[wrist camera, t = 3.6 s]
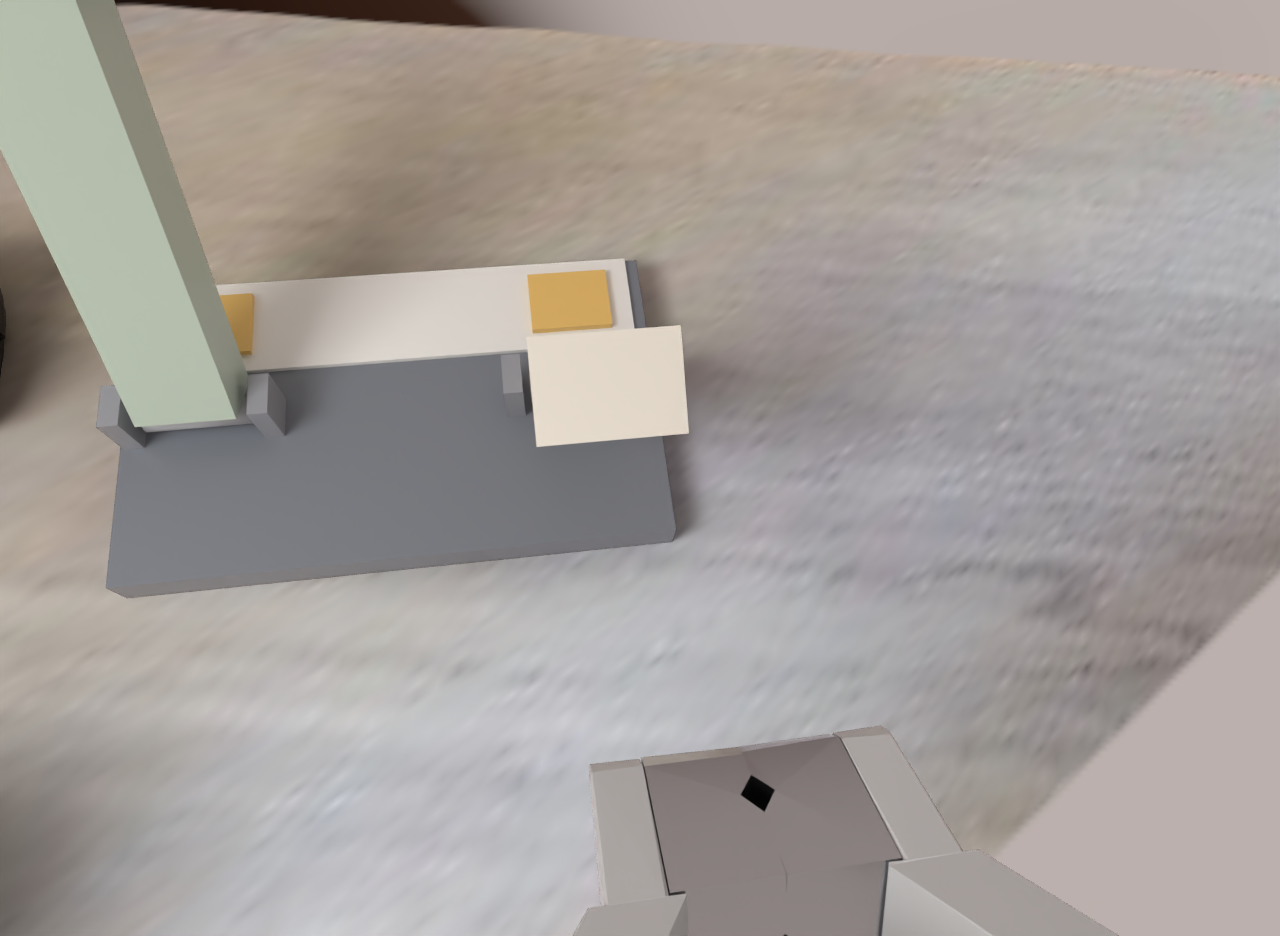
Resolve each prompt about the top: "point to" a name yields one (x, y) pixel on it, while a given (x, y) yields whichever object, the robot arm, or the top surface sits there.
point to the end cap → (2, 329)
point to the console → (385, 437)
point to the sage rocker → (115, 213)
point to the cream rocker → (607, 385)
